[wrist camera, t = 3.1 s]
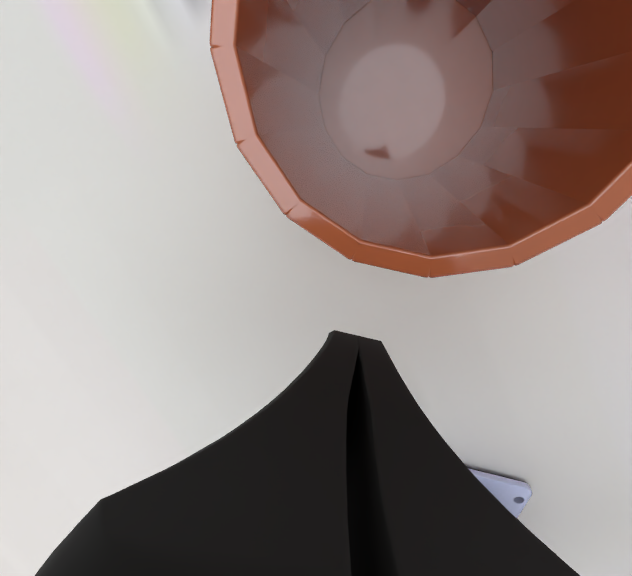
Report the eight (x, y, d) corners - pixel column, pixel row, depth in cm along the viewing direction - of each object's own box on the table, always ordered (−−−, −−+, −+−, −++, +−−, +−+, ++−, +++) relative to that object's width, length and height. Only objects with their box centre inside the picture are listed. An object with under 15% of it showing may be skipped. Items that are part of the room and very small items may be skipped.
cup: (461, 202, 15) (591, 315, 6) (299, 167, 16) (197, 227, 7) (531, 0, 12) (959, -332, 3) (331, -37, 13) (234, -430, 4)
